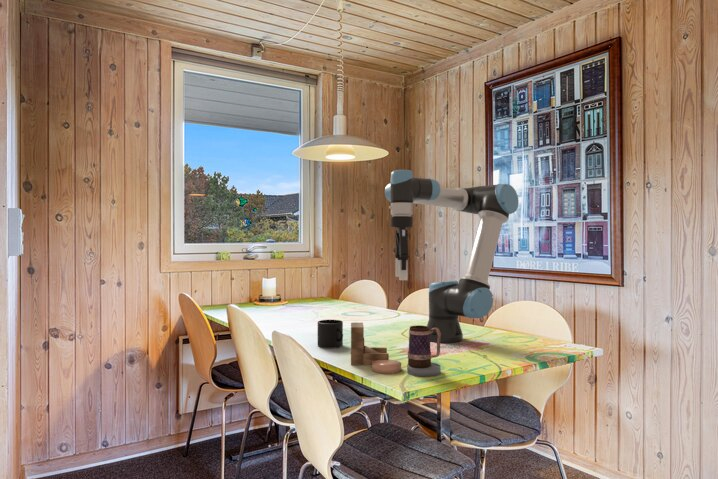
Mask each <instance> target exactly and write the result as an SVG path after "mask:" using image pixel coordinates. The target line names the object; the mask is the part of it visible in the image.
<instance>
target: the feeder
mask: <svg viewBox="0 0 718 479" xmlns="http://www.w3.org/2000/svg"><path fill="white" fill-rule="evenodd" d="M364 327H365V326H364V322H350V366H372V362H373V361H376V360H390V356H389V354H390V353H388V352H387V351H388V348H387V347H369V346H367V345H365V337H364V331H365V330H364V329H365V328H364Z"/></svg>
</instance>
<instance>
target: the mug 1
mask: <svg viewBox="0 0 718 479" xmlns="http://www.w3.org/2000/svg"><path fill="white" fill-rule="evenodd" d="M343 327H344V322H343V321H342V320H340V319H321V320H318V321H317V346H318V347H320V348H323V349H337V348H340V347H342V346H343V344H344V343H343V342H344V340H343V337H344V334H343V333H344V332H343V330H344V328H343Z"/></svg>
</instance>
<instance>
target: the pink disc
mask: <svg viewBox="0 0 718 479" xmlns="http://www.w3.org/2000/svg"><path fill="white" fill-rule="evenodd" d="M371 371H372V372H374V373H378V374H388V375H389V374H396V373H400V372H401V371H402V362H401V361H399V360H395V359H389V360H376V361H373V362H372V365H371Z"/></svg>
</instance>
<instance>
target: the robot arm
mask: <svg viewBox="0 0 718 479" xmlns="http://www.w3.org/2000/svg"><path fill="white" fill-rule="evenodd" d="M384 196H385V198H386V200H387V201H388V202H389V203H390V205H389V206H388V209H389V210H390V216H391V217H390V227H391V228H393V229H394V228H397V230H396V231H395V236H394V237H395V250H394V251H395V253H394V256H395V278H398V280H399V281H408V279H409V278H408V277H409V276H408V275H409V274H408V273H409V270H408V269H409V266H408V265H409V264H408V260H409V242H408V241H409V238H408V236H409V233H408V229H407V228H413V227H414V226H413V225H414V224H413V223H414V219H413V216H412V215H414V204H418V205H425V206H434V207H442V208H443V207H444V208H450V209H452V210H454V211H456V212H463V213H467V214H473V215H478V216H479V218H480V220H479V224H478V228H477V231H476V235H475V238H474V242H473V246H472V249H471V253H470V256H469V260H468V263H467V266H466V272H465V274H464V276H462V277H460V278H459V281H458V280H451V281H450V280H449V281H437V282H432V283H430V284H429V287H428V288H429V289H428V322H427V324H426V326H428V327H429V329H430V331H431V329H432V328H438V329H439V330H440V333H441V339H440V343H444V344H445V343H447V344H449V343H451V344H452V343H459V342H462V341H463V339H464V334H463V330H462V327H461V324H460V321H459V317H464V318H469V319H482V318H484V317H485V316H488V314H489V313H490V311H491V310H492V307H493V305H494V298H493V296H494V295H493V293H492V291H491V290H490V288H491V285H490V284H489V282H488V280H489V276H490V273H491V269H492V265H493V262H494V261H493V260H494V257H495V255H496V250H497V246H498V244H499V243H498V242H499V239H500V235H501V231H502V227H503V225H504V224H505V223H507V222H508V220H509V216H510V215H512V214H514V213H515V212H517V210H518V207H519V203H520V202H519V197H518V192H517V191H516V189H515V188H514V187H513V186H512V185H511V184H508V183H497V184H489V185H482V186H481V185H479V186H474V187H473V186H472V187H456V188H448V187H442V186H441V185H440V182H439V181H438V180H436V179H434V178H432V179H431V178H430V177H429V178H422V177H415V176H414V173H413V170H411V169H396V170H392V172H390V182H389V183H388V184H387V185H386V186H385V189H384ZM437 338H438V336H437V333H436V332H435V331H433V332H432V334H430V342H433V343H437Z"/></svg>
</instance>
